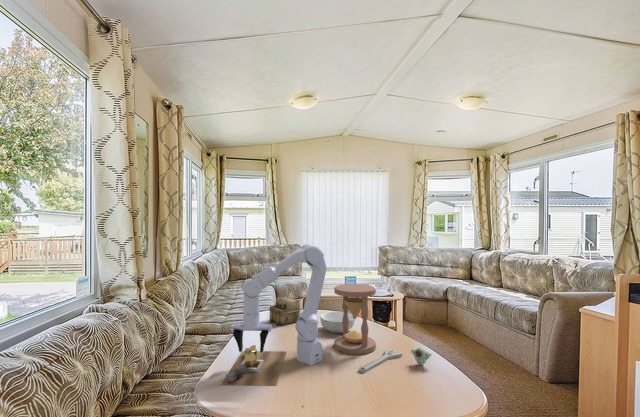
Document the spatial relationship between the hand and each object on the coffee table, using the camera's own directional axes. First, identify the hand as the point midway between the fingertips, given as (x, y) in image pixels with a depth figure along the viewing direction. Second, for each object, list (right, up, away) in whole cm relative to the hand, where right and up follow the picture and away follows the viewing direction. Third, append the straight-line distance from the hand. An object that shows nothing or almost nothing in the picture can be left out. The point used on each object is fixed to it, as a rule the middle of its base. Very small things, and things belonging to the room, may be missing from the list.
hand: (251, 351), depth 123 cm
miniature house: (+5, -9, +59) cm, 60 cm away
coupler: (0, -6, 0) cm, 6 cm away
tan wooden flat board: (+2, -7, +1) cm, 7 cm away
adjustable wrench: (+47, -8, +8) cm, 49 cm away
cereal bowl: (+33, -9, +44) cm, 56 cm away
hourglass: (+39, -8, +23) cm, 46 cm away
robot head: (+62, -7, +5) cm, 63 cm away
